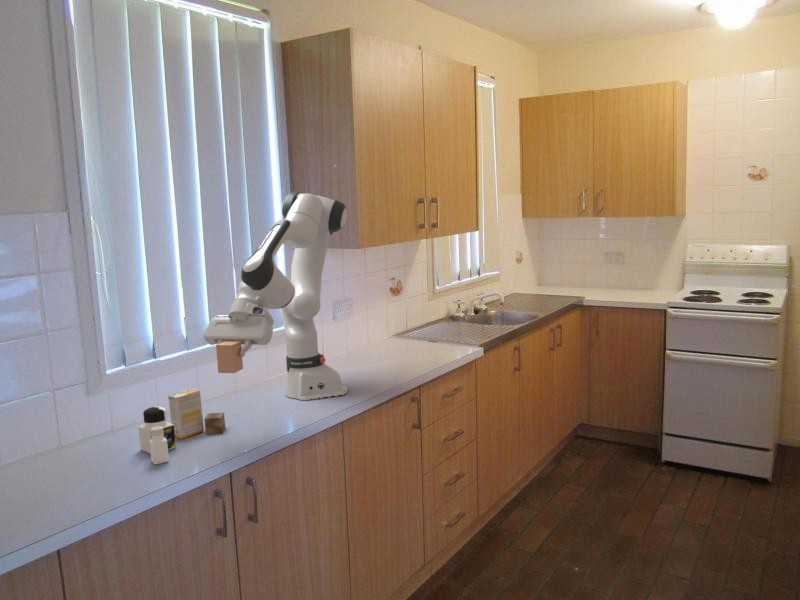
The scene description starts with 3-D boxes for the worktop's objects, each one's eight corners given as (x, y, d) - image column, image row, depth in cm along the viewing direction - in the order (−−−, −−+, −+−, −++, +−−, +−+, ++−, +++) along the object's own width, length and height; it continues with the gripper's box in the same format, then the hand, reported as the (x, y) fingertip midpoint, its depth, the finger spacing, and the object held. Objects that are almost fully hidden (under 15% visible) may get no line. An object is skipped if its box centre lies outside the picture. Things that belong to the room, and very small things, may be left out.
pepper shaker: (166, 457, 180) (162, 424, 178) (169, 462, 176) (166, 428, 175) (150, 461, 178) (147, 427, 176) (154, 465, 174) (150, 431, 173)
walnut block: (225, 427, 202) (224, 412, 202) (222, 433, 197) (221, 417, 197) (208, 429, 202) (207, 413, 201) (205, 434, 197) (204, 418, 196)
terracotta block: (227, 368, 188) (225, 341, 187) (243, 368, 187) (240, 341, 186) (218, 372, 184) (215, 345, 183) (234, 373, 182) (232, 345, 181)
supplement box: (195, 428, 203) (191, 387, 201) (204, 431, 200) (200, 390, 198) (171, 436, 196) (167, 394, 194) (180, 439, 193) (176, 397, 191)
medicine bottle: (153, 455, 182) (148, 414, 180) (140, 450, 186) (136, 409, 184) (176, 447, 187) (172, 407, 185) (163, 442, 192) (159, 403, 190)
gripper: (208, 309, 193) (192, 349, 185) (271, 309, 188) (258, 350, 180) (217, 321, 198) (202, 360, 190) (279, 321, 193) (266, 362, 185)
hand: (230, 355), depth 185 cm, fingers closed on terracotta block, 5 cm apart
